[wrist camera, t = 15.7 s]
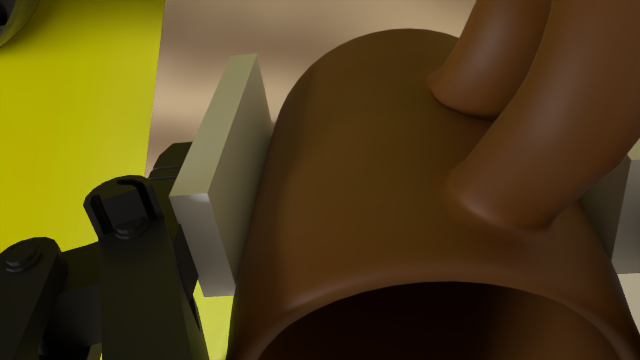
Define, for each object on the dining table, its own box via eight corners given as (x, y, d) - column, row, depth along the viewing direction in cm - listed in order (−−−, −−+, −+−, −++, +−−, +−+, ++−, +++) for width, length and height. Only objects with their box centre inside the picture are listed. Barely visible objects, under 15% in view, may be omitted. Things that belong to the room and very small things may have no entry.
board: (491, 270, 38) (497, 293, 36) (150, 187, 35) (141, 207, 34) (813, -251, 22) (850, -252, 20) (233, -467, 19) (222, -488, 18)
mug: (353, -213, 13) (349, -178, 5) (670, -114, 14) (1080, 45, 6) (253, 205, 20) (186, 488, 12) (467, 255, 20) (534, 551, 13)
